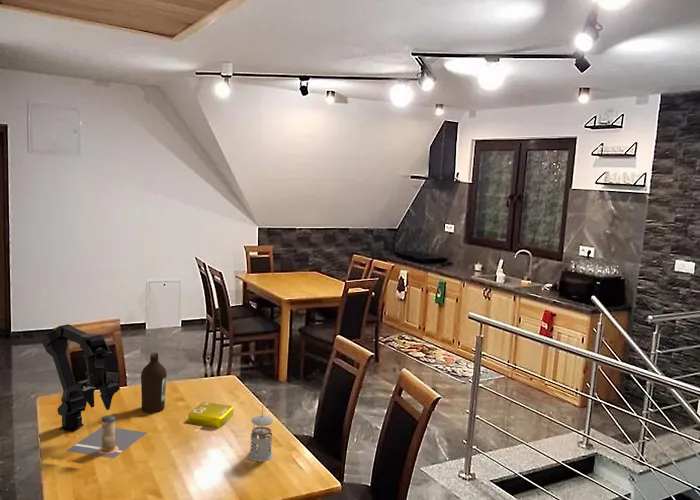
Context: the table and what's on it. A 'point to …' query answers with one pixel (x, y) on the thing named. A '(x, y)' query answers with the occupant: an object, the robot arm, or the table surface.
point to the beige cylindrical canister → (108, 433)
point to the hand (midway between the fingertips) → (100, 408)
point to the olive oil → (153, 385)
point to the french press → (261, 438)
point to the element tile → (210, 415)
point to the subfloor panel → (94, 443)
